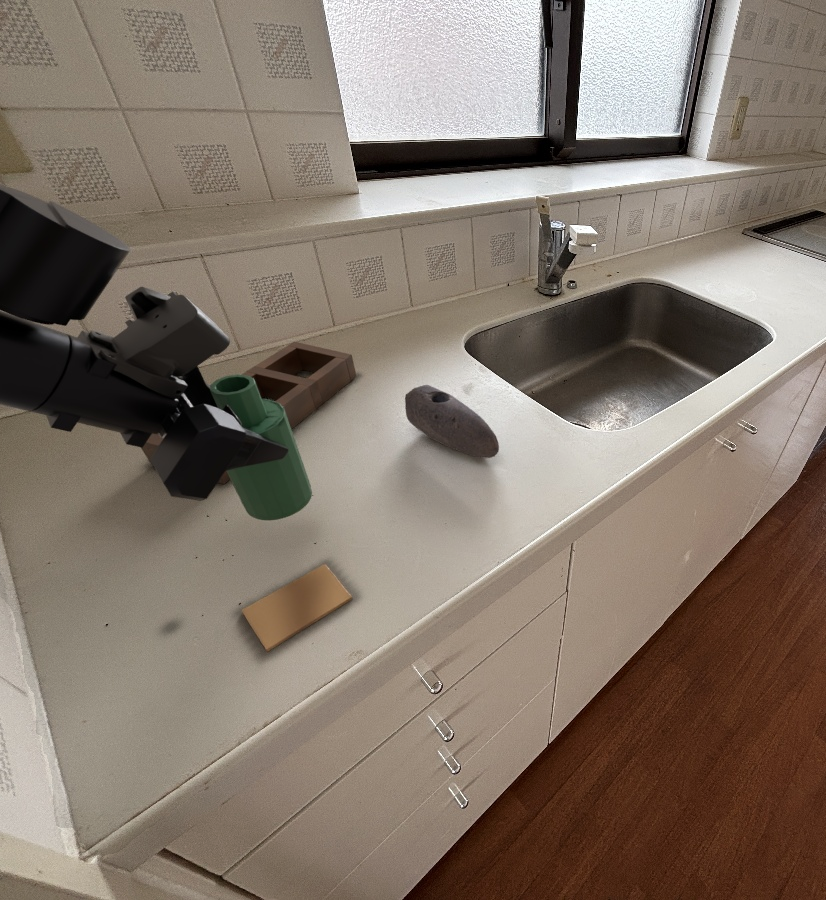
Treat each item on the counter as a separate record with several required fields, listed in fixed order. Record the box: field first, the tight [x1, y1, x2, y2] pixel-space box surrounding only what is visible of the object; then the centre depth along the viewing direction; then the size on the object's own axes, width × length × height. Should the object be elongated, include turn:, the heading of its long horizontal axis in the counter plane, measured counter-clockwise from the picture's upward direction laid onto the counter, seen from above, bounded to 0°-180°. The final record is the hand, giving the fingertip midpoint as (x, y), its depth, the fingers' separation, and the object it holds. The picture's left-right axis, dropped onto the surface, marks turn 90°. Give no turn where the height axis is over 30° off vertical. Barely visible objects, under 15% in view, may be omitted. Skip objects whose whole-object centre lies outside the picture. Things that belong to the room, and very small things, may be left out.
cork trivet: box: [241, 563, 353, 652], centre depth 49 cm, size 8×6×1 cm
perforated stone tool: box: [404, 384, 500, 459], centre depth 68 cm, size 15×5×7 cm, turn 58°
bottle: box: [209, 374, 313, 521], centre depth 47 cm, size 6×6×14 cm
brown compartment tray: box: [140, 341, 357, 485], centre depth 69 cm, size 27×10×4 cm, turn 167°
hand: (272, 437), depth 47 cm, fingers closed on bottle, 6 cm apart
